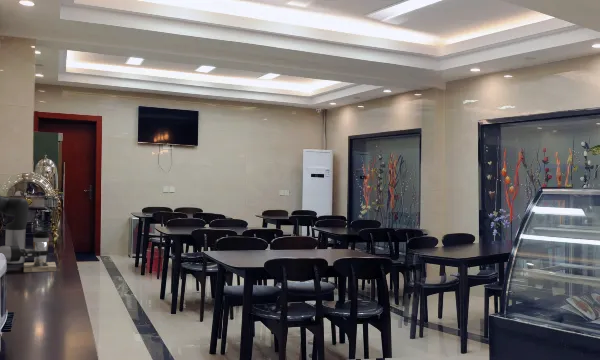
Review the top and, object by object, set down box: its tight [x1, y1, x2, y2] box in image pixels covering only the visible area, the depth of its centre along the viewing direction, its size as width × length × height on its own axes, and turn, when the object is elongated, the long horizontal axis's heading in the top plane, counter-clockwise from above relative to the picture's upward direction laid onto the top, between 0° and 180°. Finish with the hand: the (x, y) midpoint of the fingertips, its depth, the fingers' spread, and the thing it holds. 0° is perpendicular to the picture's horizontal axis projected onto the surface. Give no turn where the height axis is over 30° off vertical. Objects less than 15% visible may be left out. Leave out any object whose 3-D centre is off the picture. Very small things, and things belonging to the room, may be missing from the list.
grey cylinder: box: [33, 242, 49, 267], centre depth 277 cm, size 6×5×12 cm
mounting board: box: [23, 261, 57, 273], centre depth 279 cm, size 18×14×2 cm
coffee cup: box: [32, 231, 50, 252], centre depth 309 cm, size 8×8×15 cm
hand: (46, 252), depth 278 cm, fingers closed on grey cylinder, 5 cm apart
